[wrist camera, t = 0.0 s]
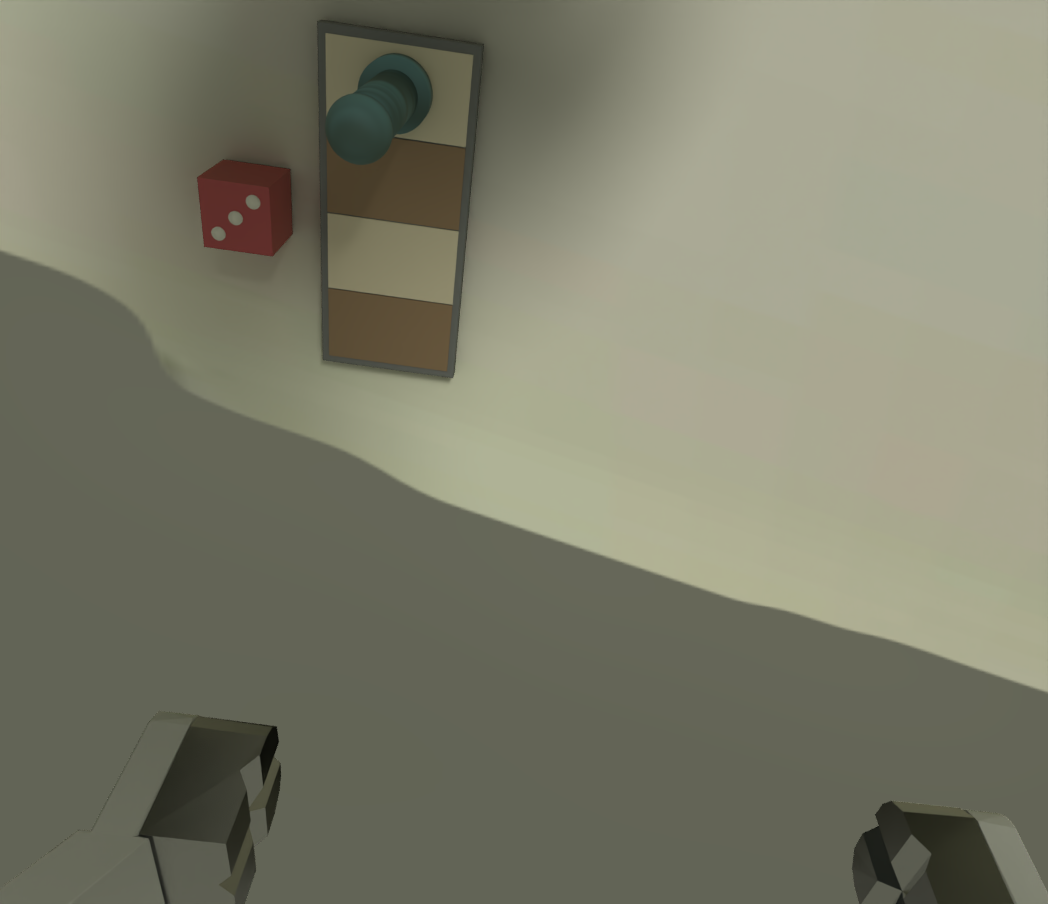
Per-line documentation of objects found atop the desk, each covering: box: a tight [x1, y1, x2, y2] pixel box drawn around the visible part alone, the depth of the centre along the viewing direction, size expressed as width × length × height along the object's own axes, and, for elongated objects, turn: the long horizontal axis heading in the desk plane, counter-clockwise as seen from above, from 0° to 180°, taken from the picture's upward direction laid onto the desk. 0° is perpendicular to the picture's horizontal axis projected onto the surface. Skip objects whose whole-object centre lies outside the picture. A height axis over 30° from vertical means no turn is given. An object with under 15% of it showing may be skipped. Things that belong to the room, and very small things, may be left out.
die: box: [197, 159, 293, 256], centre depth 53 cm, size 4×5×5 cm
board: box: [317, 20, 484, 378], centre depth 54 cm, size 23×10×1 cm, turn 173°
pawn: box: [325, 53, 433, 165], centre depth 44 cm, size 4×4×12 cm
